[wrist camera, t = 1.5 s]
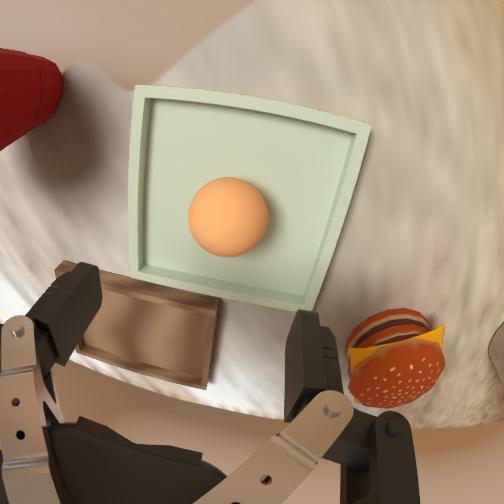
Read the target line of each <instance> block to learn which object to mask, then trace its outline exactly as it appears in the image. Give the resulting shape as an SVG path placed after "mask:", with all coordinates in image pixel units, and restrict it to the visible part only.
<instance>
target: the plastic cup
mask: <svg viewBox="0 0 504 504" xmlns="http://www.w3.org/2000/svg"><path fill="white" fill-rule="evenodd" d="M62 88H63V82H62V76H61V72H60V70H59V69H58V67H57V65H56V64H55V63H53V62H52V61H50V60H48V59H46V58H44V57H40V56H35V55H30V54H26V53H25V52H21V51H15V50H9V49H2V48H0V151H1V150H3V149H4V148H5V147H7V146H8V145H10V144H11V143H13V142H14V141H16V140H17V139H19V138H20V137H22V136H24V135H25V134H26V133H27V132H28V131H30V130H31V129H33V128H35V127H37V126H38V125H40V124H42V123H44V122H45V121H46V120H47V119H49V118H50V117H51V116H52V114H53V113H54V112H55V111H56V109H57V107H58V105H59V102H60V100H61V96H62Z"/></svg>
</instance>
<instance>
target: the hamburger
mask: <svg viewBox="0 0 504 504" xmlns="http://www.w3.org/2000/svg"><path fill="white" fill-rule="evenodd" d="M443 334H444V324H442V325H441V326H439V327H438V328H436V329H435V330H433V331H431V329H430V324H429V322H428V321H427V320H426V319H425V318H424V317H423V316H422V315H421V314H420V313H419V312H416V311H413V310H409V309H405V308H402V309H392V310H386V311H384V312H381V313H379V314H377V315H374V316H372V317H369V318H368V319H367V320H365V321H364V322H363V323H361V324H360V325H359V326H358V327H356V328H355V330H354V331H353V333H352V334H351V336H350V337H349V339H348V340H347V345H346V352H345V356H346V359H347V361H348V363H349V368H348V375H349V377H350V382H349V385H348V389H349V391H350V393H351V394H352V395H353V396H354V402H356V403H361V404H362V405H364V406H368V407H377V408H393V407H397V406H400V405H404V404H407V403H410V402H412V401H414V400H415V399H417V398H418V397H420V396H421V395H423V394H424V393H426V392H427V391H429V390H430V389H431V388H432V387H433V386H434V384H435V383H436V381H437V379H438V378H439V376H440V374H441V372H442V371H443V369H444V367H445V358H444V356H443V353H442V344H443Z"/></svg>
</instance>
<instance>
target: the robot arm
mask: <svg viewBox="0 0 504 504" xmlns="http://www.w3.org/2000/svg"><path fill="white" fill-rule="evenodd" d="M102 298H103V296H102V289H101V281H100V274H99V268H98V267H97V266H95V265H92V264H88V263H84V262H80V263H78V264H77V265H76V267H75V268H74V269H73V270H72V271H71V272H70V271H67V272H66V273H64V274H62V275H61V276H59V277H58V278H57V279H56V280H55V281H54V282H53V283H52V284H51V287H49V288H48V289H47V290H46V292H45V293H44V294H43V295H42V296H41V297H40V298H39V299H38V301H37V302H36V303H35V304H34V305H33V307H32V308H31V309H30V310H29V312H28V313H27V314H26V315H25V316H22V315H19V316H14V317H12V318H10V319H9V320H7V321H6V322H5V324H0V443H1V450H0V504H282V503H283V502H284V501H285V500H286V499H287V498H288V496H289V495H290V494H291V493H292V492H293V491H294V490H295V489H296V488H297V487H298V486H299V485H300V484H301V482H302V481H303V480H304V479H305V478H306V477H307V476H308V475H309V473H310V472H311V471H312V470H313V469H314V467H315V466H316V465H317V463H318V461H319V460H320V459H321V458H324V459H327V460H330V461H333V462H336V463H339V464H341V483H340V504H420V496H419V485H418V476H417V467H416V460H415V453H414V446H413V439H412V433H411V427H410V424H409V422H408V421H407V419H406V418H405V417H404V416H403V415H401V414H400V413H397V412H394V411H386V412H383V413H382V414H380V415H379V416H378V417H376V416H373V415H370V414H367V413H364V412H361V411H359V410H357V409H355V408H354V407H353V405H352V403H351V401H350V400H349V399H348V398H347V397H346V396H345V395H344V393H343V387H342V380H341V373H340V366H339V360H338V352H337V346H336V340H335V337H334V335H333V334H332V332H331V330H330V329H329V327H323V326H320V322H319V314H318V312H314V311H308V310H302V309H298V311H297V313H296V316H295V318H294V321H293V324H292V326H291V329H290V332H289V335H288V338H287V341H286V347H285V400H284V422H289V423H290V424H289V425H288V426H287V427H286V428H285V429H284V430H283V431H282V432H281V433H279V434H276V435H275V436H274V437H272V438H271V439H270V440H269V441H268V442H267V443H265V444H264V445H263V446H262V447H261V448H260V449H259V450H258V451H257V452H256V453H255V454H254V455H252V456H251V457H250V458H249V459H248V460H247V461H246V462H244V463H243V464H242V465H241V466H240V467H239V468H237V469H236V470H235V471H234V472H233V473H232V474H230V475H229V476H226V475H225V474H224V473H223V472H222V471H221V470H219V469H218V468H216V467H215V466H213V465H211V464H210V463H208V462H206V461H203V460H202V453H200V452H196V451H191V450H187V449H182V448H178V447H174V446H170V445H145V444H136V443H133V442H131V441H129V440H128V439H126V438H124V437H123V436H121V435H120V434H118V433H116V432H115V431H113V430H112V429H110V428H109V427H107V426H104V425H102V424H99V423H96V422H94V421H91V420H88V419H86V418H84V417H81V416H79V418H78V421H77V423H72V422H68V423H66V421H65V419H64V417H63V414H62V412H61V408H60V404H59V400H58V395H57V390H56V385H55V380H54V374H53V370H52V366H53V365H54V363H57V364H60V365H62V366H65V365H66V363H67V361H68V359H69V358H70V356H71V354H72V353H73V351H74V349H75V348H76V346H77V344H78V343H79V341H80V339H81V338H82V336H83V335H84V333H85V331H86V330H87V328H88V327H89V325H90V323H91V322H92V320H93V319H94V317H95V316H96V314H97V313H98V311H99V309H100V307H101V304H102ZM488 353H489V356H490V358H491V360H492V362H493V364H494V366H495V368H496V370H497V372H498V374H499V376H500V379H501V381H502V383H503V385H504V323H503V324H502V326H501V327H500V328H499V329H498V331H497V332H496V333H495V335H494V337H493V338H492V340H491V343H490V345H489V352H488Z"/></svg>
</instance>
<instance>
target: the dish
mask: <svg viewBox="0 0 504 504" xmlns="http://www.w3.org/2000/svg"><path fill="white" fill-rule="evenodd" d="M371 126H372V125H370V124H367V123H365V122H362V121H359V120H355V119H352V118H349V117H345V116H341V115H338V114H334V113H330V112H326V111H323V110H319V109H314V108H310V107H306V106H302V105H297V104H293V103H288V102H283V101H278V100H273V99H268V98H262V97H257V96H251V95H244V94H238V93H231V92H224V91H216V90H208V89H199V88H188V87H176V86H162V85H135V91H134V100H133V109H132V120H131V133H130V149H129V171H128V245H129V268H130V277H131V278H135V279H139V280H143V281H147V282H152V283H156V284H160V285H165V286H169V287H174V288H178V289H183V290H187V291H192V292H196V293H201V294H206V295H211V296H215V297H220V298H225V299H230V300H235V301H240V302H245V303H250V304H256V305H261V306H266V307H272V308H277V309H283V310H288V311H294V312H297V311H298V309H302V310H308V311H312V310H313V307H314V305H315V302H316V299H317V297H318V294H319V291H320V289H321V286H322V283H323V280H324V278H325V275H326V272H327V269H328V267H329V264H330V261H331V258H332V255H333V252H334V249H335V247H336V244H337V241H338V238H339V235H340V232H341V229H342V226H343V223H344V219H345V216H346V213H347V210H348V207H349V204H350V200H351V197H352V194H353V191H354V187H355V184H356V181H357V177H358V174H359V170H360V167H361V163H362V160H363V156H364V153H365V149H366V145H367V142H368V138H369V134H370V130H371ZM223 177H233V178H238V179H242V180H244V181H246V182H248V183H250V184H251V185H253V186H254V187H255V188H256V189H257V190H258V191H259V192H260V193H261V195H262V196H263V198H264V200H265V202H266V205H267V208H268V225H267V229H266V232H265V234H264V236H263V238H262V239H261V241H260V242H259V243H258V245H257V246H256V247H254V248H253V249H252V250H251V251H249V252H247V253H245V254H243V255H240V256H236V257H220V256H216V255H213V254H211V253H209V252H207V251H206V250H204V249H203V248H202V247H201V246H200V245H199V244H198V243H197V242H196V241H195V239H194V237H193V236H192V234H191V231H190V228H189V223H188V212H189V207H190V204H191V201H192V199H193V197H194V196H195V194H196V193H197V192H198V191H199V189H200V188H201V187H203V186H204V185H205V184H207V183H208V182H210V181H213V180H215V179H218V178H223Z"/></svg>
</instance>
